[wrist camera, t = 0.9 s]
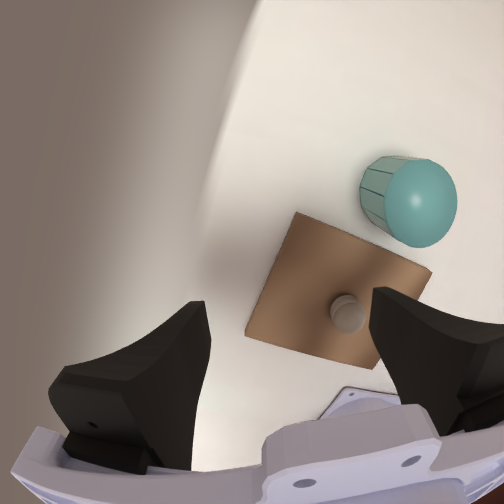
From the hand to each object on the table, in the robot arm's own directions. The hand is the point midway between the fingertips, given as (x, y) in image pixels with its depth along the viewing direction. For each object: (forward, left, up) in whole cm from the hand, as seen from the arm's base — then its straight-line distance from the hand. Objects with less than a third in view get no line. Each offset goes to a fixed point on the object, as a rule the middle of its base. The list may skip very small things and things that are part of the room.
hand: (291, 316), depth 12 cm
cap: (-6, -7, -9) cm, 13 cm away
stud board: (-6, +2, -9) cm, 11 cm away
